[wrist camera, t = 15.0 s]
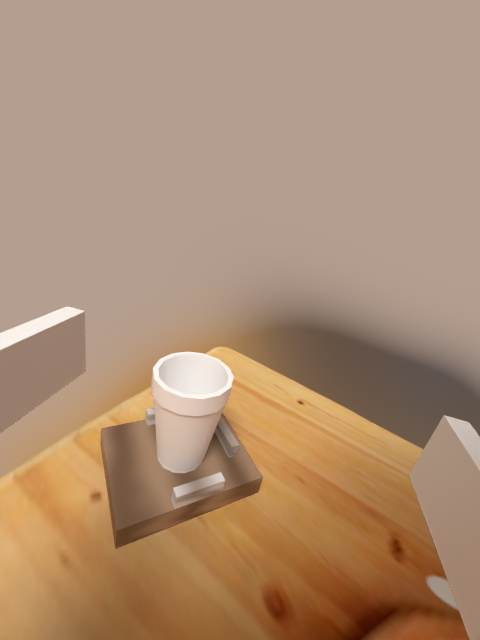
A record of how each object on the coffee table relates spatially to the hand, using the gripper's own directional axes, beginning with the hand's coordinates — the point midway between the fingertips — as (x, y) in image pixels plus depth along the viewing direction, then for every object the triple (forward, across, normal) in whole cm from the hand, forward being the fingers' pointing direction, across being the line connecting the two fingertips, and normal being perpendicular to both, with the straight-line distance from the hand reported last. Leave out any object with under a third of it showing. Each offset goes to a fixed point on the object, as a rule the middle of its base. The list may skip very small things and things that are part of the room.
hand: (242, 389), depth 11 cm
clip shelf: (+20, -8, -30) cm, 36 cm away
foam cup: (+19, -8, -27) cm, 34 cm away
